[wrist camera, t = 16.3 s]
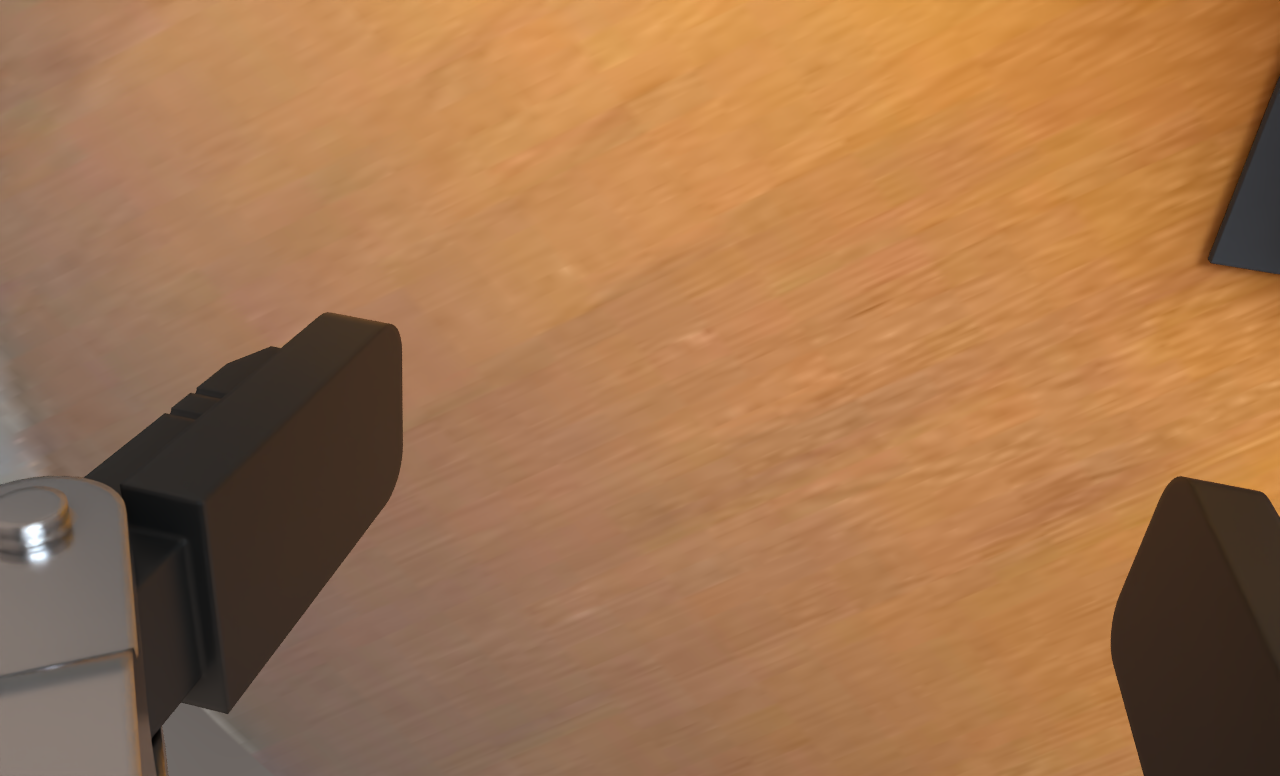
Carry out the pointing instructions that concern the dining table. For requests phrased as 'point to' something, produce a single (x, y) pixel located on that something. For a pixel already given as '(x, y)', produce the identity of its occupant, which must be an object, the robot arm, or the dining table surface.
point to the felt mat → (1255, 203)
